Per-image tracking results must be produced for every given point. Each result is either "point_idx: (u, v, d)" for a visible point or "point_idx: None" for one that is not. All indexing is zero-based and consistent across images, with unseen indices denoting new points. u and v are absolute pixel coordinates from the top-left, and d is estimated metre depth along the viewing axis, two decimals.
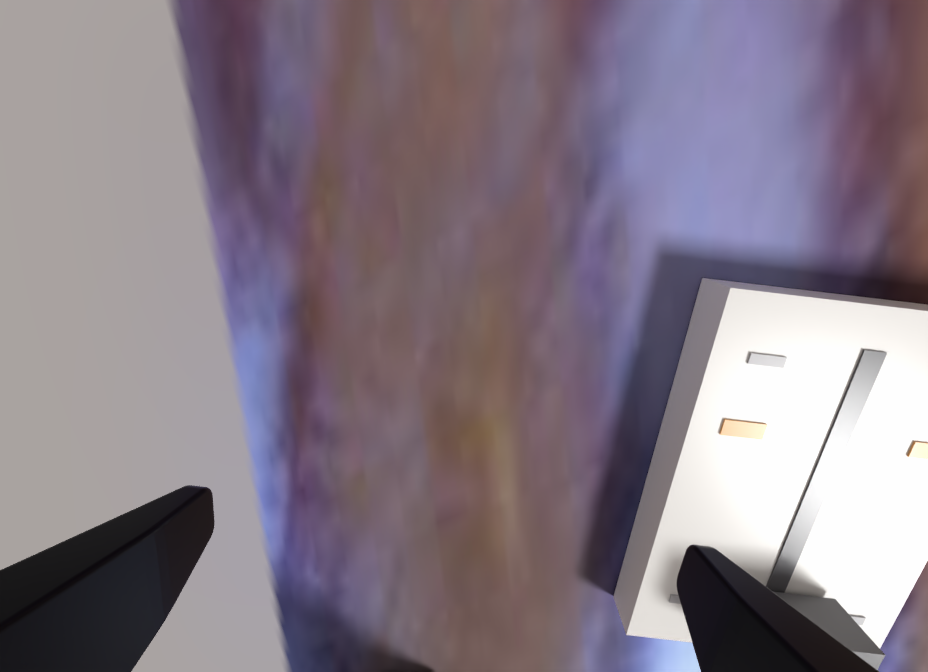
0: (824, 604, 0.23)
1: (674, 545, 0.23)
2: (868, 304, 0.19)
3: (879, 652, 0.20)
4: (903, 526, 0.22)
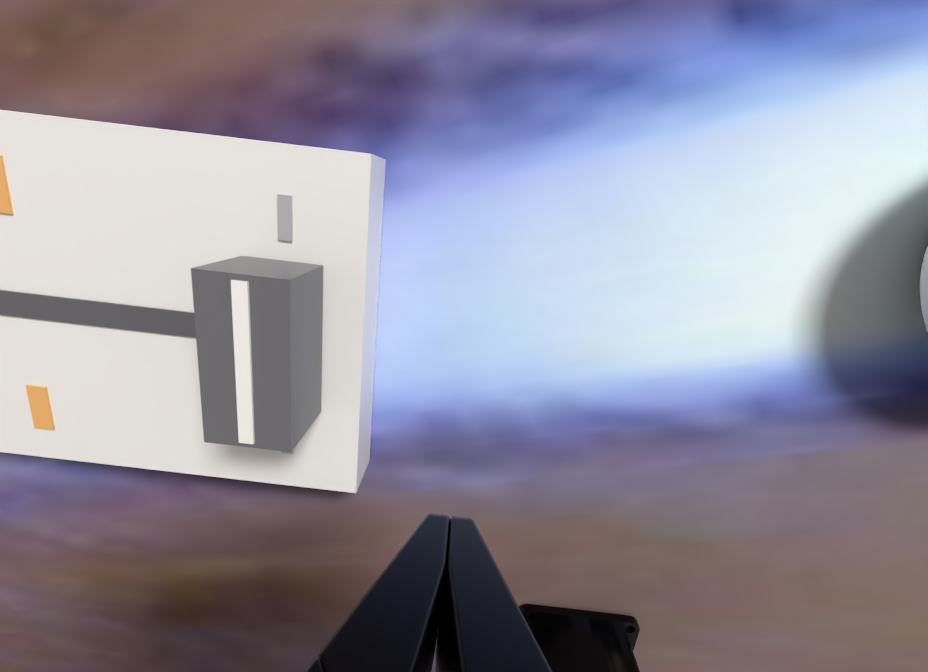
0: None
1: (209, 455, 0.19)
2: None
3: (193, 272, 0.13)
4: (113, 183, 0.16)
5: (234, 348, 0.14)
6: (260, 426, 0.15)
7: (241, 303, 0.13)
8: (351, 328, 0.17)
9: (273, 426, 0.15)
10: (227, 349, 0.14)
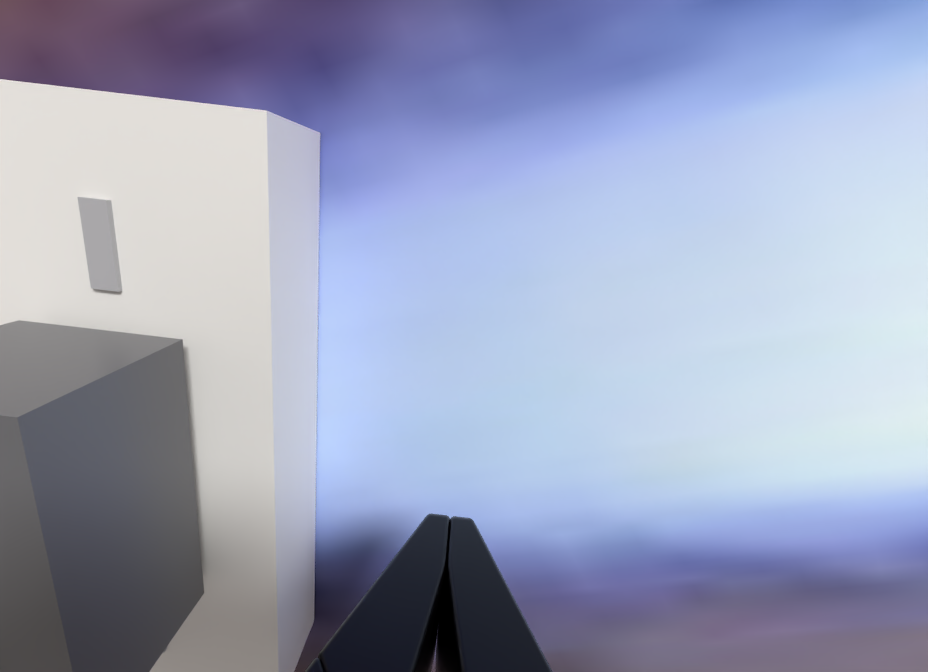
0: None
1: None
2: None
3: None
4: None
5: None
6: None
7: None
8: (251, 451, 0.09)
9: None
10: None
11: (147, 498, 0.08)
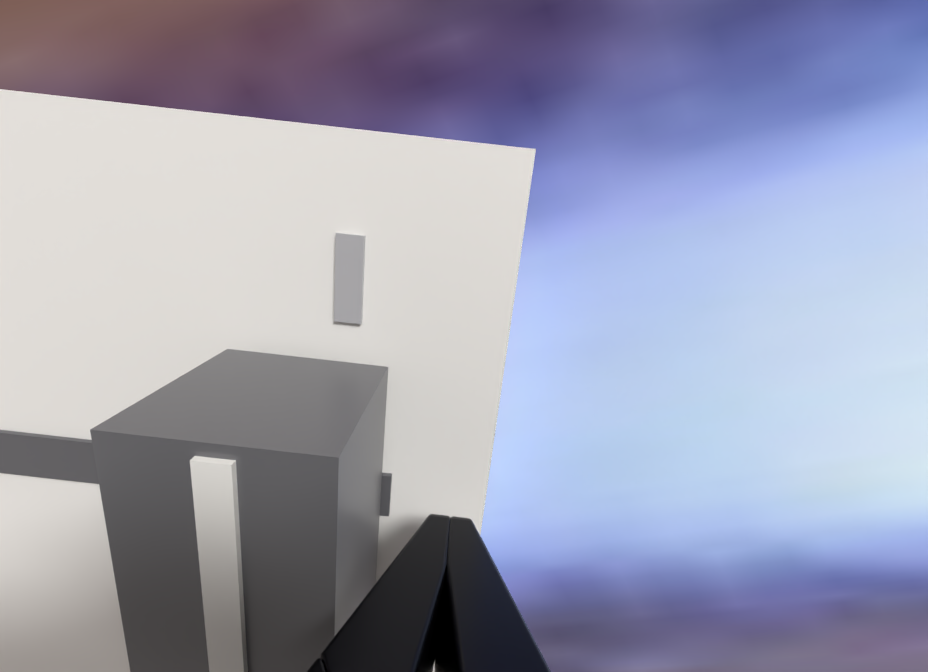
0: None
1: None
2: None
3: (98, 436, 0.05)
4: (6, 213, 0.08)
5: (203, 602, 0.06)
6: None
7: (219, 506, 0.06)
8: (465, 477, 0.09)
9: None
10: (189, 600, 0.06)
11: (366, 525, 0.08)
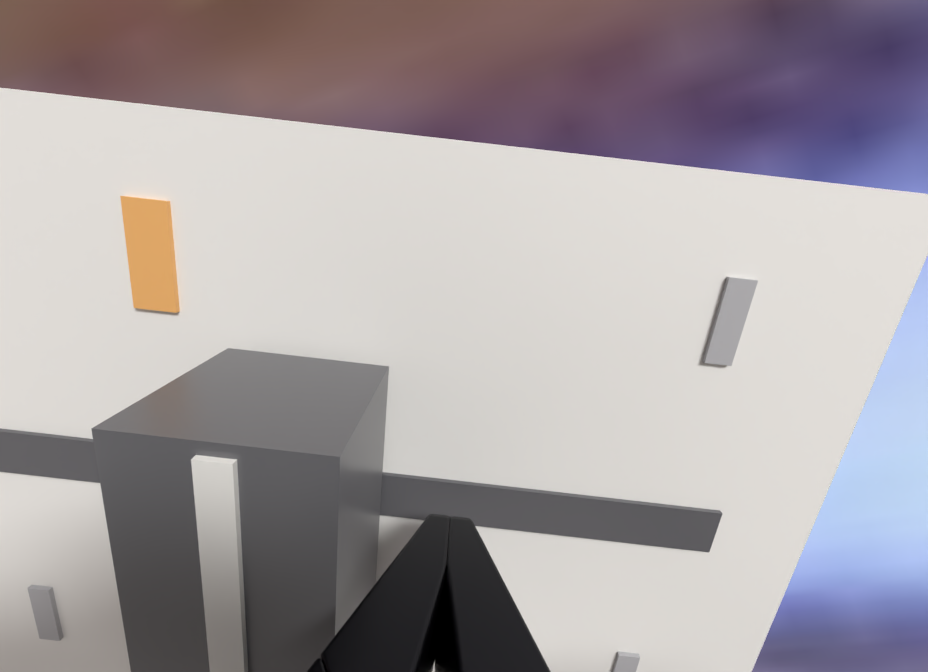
0: None
1: None
2: None
3: (101, 435, 0.05)
4: (391, 255, 0.08)
5: (204, 601, 0.06)
6: None
7: (220, 505, 0.06)
8: (794, 514, 0.09)
9: None
10: (189, 598, 0.06)
11: (366, 524, 0.08)
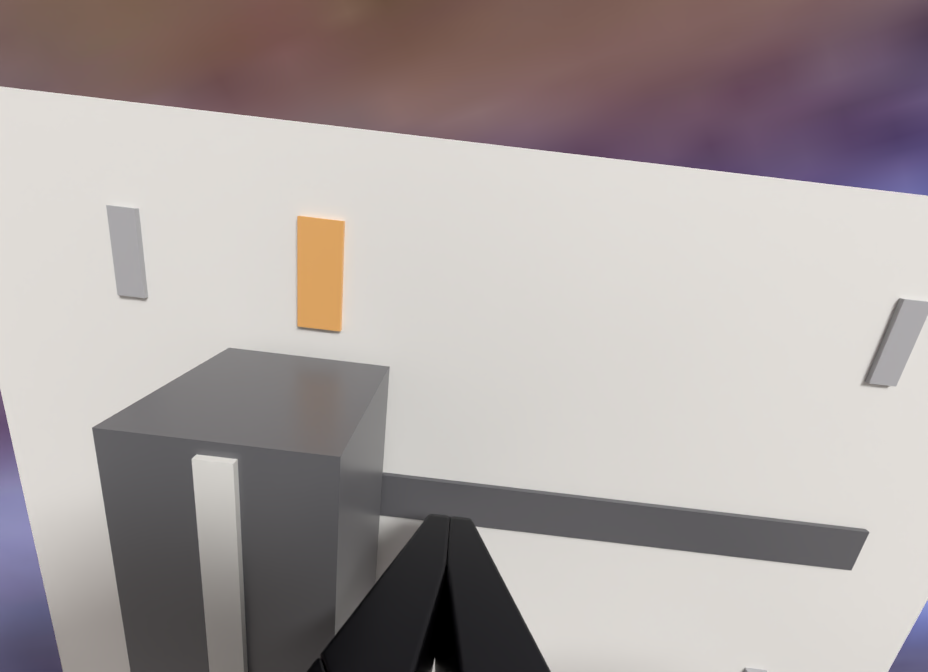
0: None
1: None
2: (26, 486, 0.10)
3: (101, 434, 0.05)
4: (562, 276, 0.08)
5: (203, 601, 0.06)
6: None
7: (221, 505, 0.06)
8: None
9: None
10: (189, 598, 0.06)
11: (367, 524, 0.08)
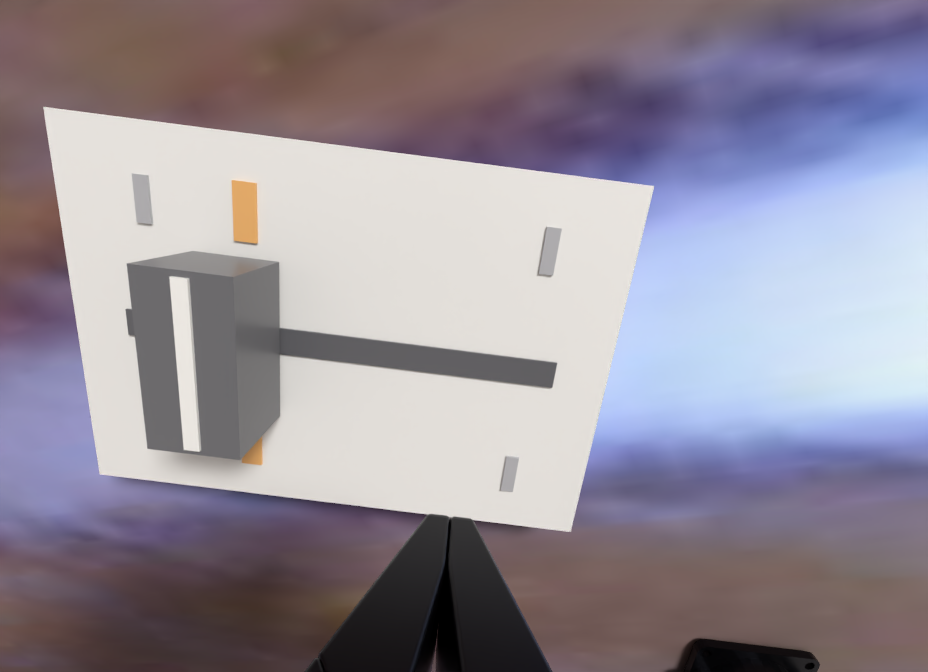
0: None
1: (421, 492, 0.18)
2: (81, 338, 0.17)
3: (130, 268, 0.12)
4: (371, 213, 0.15)
5: (175, 350, 0.13)
6: (206, 432, 0.14)
7: (182, 301, 0.13)
8: (598, 365, 0.16)
9: (221, 432, 0.14)
10: (169, 351, 0.13)
11: (263, 341, 0.15)
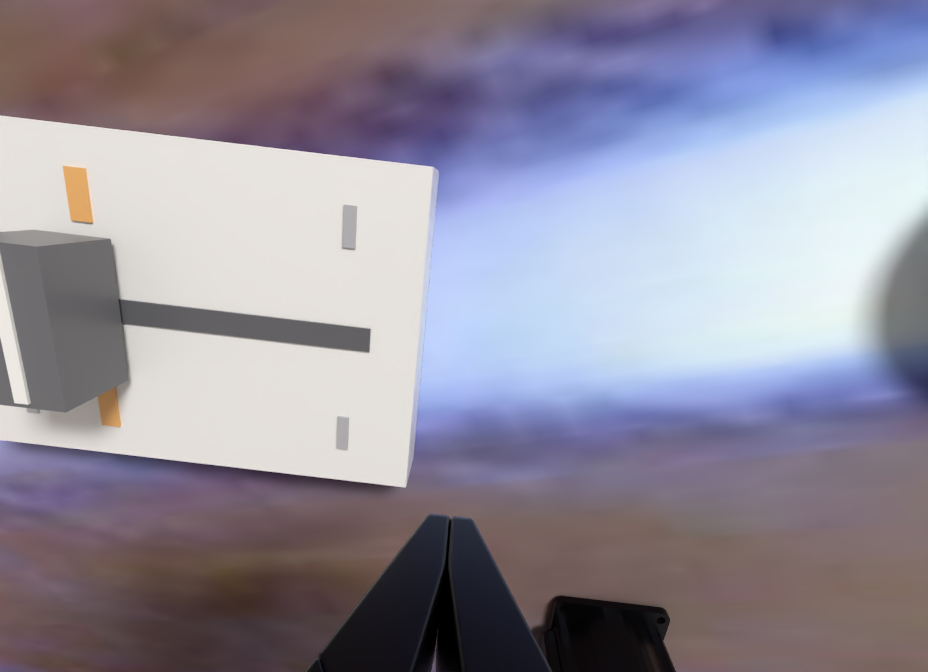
0: None
1: (267, 450, 0.20)
2: None
3: None
4: (189, 194, 0.17)
5: None
6: (33, 387, 0.16)
7: None
8: (407, 330, 0.18)
9: (45, 387, 0.16)
10: None
11: (92, 308, 0.17)
